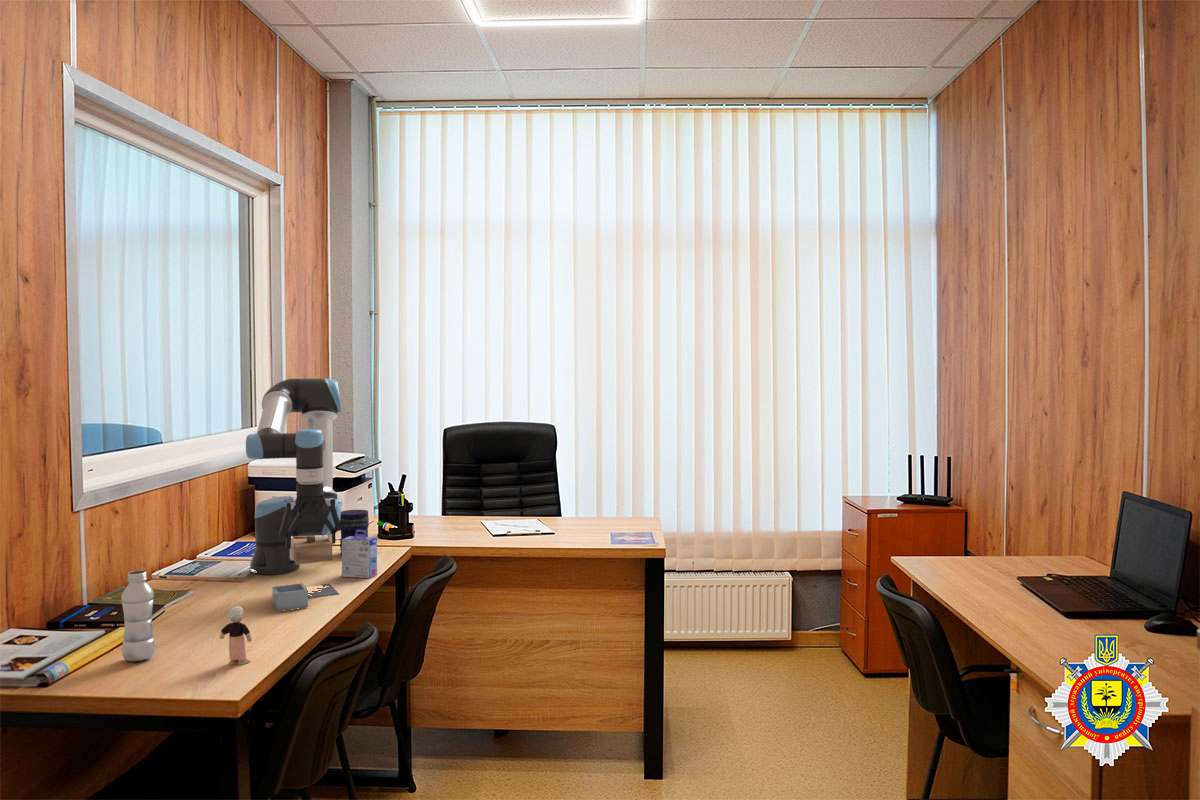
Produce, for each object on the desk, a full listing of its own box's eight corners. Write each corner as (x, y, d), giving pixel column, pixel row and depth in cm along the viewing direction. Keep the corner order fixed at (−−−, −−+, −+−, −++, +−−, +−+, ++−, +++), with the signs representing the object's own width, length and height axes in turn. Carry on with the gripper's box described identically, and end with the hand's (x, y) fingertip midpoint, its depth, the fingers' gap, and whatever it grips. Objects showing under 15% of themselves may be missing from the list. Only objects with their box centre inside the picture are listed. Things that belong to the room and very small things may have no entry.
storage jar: (355, 558, 287) (355, 515, 287) (333, 555, 292) (333, 513, 291) (375, 552, 296) (374, 510, 296) (353, 549, 301) (353, 508, 300)
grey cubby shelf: (272, 604, 232) (272, 586, 231) (302, 600, 236) (302, 583, 235) (277, 612, 225) (276, 593, 224) (307, 607, 229) (307, 589, 228)
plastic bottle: (130, 655, 191) (128, 569, 190) (160, 654, 192) (158, 568, 191) (116, 665, 185) (114, 576, 184) (148, 664, 185) (145, 575, 185)
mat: (284, 589, 247) (284, 589, 247) (329, 584, 253) (329, 583, 253) (292, 600, 236) (292, 599, 236) (339, 594, 242) (339, 593, 242)
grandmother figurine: (257, 659, 189) (256, 604, 188) (250, 665, 185) (249, 609, 184) (222, 659, 188) (221, 604, 188) (215, 665, 184) (214, 609, 184)
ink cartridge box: (378, 574, 265) (377, 529, 264) (370, 578, 260) (369, 532, 259) (349, 573, 267) (349, 528, 266) (341, 577, 262) (340, 531, 261)
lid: (290, 556, 246) (290, 534, 246) (325, 552, 251) (324, 531, 251) (296, 564, 238) (296, 542, 237) (332, 560, 243) (332, 538, 242)
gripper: (270, 487, 234) (272, 564, 236) (352, 481, 245) (353, 555, 247) (266, 483, 241) (268, 558, 242) (346, 477, 252) (347, 549, 253)
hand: (311, 557), depth 245 cm, fingers closed on lid, 10 cm apart
